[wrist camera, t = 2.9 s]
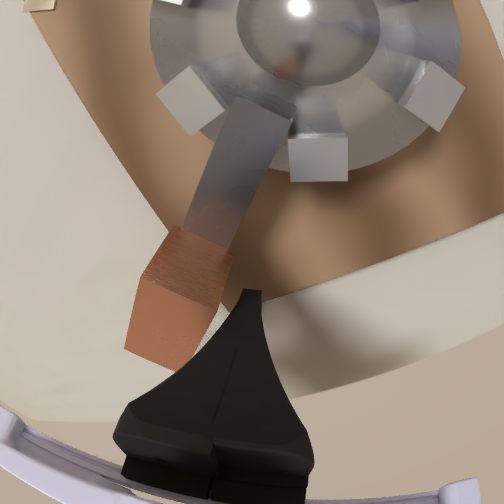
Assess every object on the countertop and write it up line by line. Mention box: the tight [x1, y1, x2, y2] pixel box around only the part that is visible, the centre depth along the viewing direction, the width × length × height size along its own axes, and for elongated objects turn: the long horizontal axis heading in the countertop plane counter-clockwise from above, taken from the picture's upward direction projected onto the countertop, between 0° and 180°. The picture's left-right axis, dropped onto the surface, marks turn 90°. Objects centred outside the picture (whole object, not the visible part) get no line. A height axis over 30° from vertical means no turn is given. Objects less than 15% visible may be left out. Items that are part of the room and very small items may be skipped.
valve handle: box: [124, 0, 465, 372], centre depth 9 cm, size 17×10×6 cm, turn 156°
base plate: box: [22, 0, 504, 312], centre depth 11 cm, size 18×22×2 cm
